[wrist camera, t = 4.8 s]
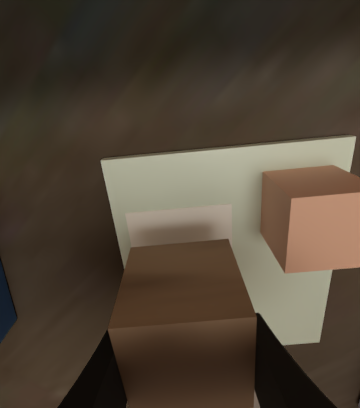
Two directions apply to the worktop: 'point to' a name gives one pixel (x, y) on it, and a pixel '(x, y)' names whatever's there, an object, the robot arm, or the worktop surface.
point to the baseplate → (226, 217)
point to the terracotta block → (312, 218)
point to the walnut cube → (184, 328)
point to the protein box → (5, 307)
